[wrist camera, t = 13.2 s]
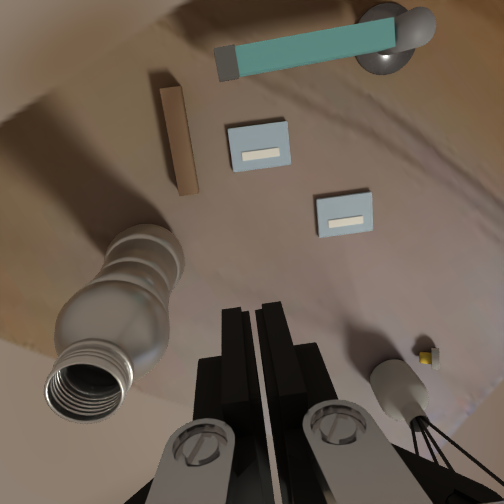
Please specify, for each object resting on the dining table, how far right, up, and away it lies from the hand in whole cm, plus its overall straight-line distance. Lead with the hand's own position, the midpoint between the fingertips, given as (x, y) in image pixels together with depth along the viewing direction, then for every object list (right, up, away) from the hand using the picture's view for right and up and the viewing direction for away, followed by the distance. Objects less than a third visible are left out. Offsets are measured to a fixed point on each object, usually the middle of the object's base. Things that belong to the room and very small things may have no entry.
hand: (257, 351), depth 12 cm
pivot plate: (+10, +20, +22) cm, 32 cm away
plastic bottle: (-9, +3, +27) cm, 29 cm away
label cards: (+4, +9, +26) cm, 27 cm away
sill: (-6, +12, +24) cm, 27 cm away
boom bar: (+4, +19, +22) cm, 29 cm away
